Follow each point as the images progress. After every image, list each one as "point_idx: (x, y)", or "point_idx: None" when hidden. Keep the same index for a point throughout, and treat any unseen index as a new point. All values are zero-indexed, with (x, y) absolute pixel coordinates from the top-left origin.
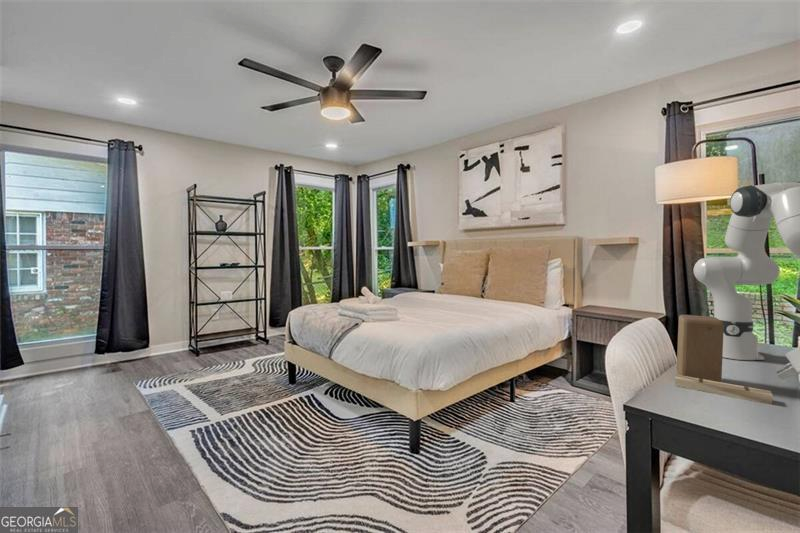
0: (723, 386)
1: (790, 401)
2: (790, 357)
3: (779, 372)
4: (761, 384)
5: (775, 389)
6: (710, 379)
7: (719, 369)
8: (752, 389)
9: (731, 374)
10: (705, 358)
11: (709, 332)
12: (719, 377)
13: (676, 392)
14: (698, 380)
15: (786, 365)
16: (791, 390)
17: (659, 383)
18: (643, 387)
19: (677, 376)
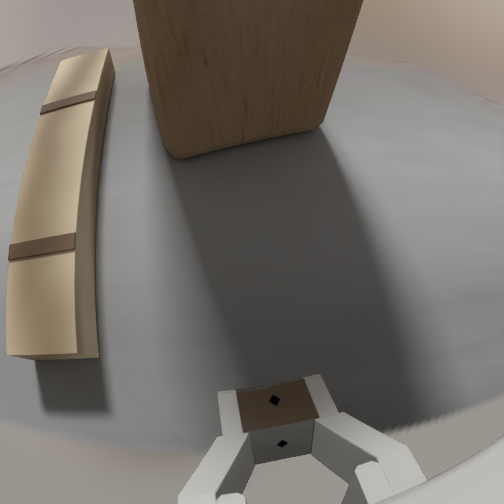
0: (25, 171)
1: (157, 440)
2: (493, 475)
3: (254, 405)
4: (394, 303)
5: (355, 368)
6: (156, 116)
7: (154, 93)
8: (44, 271)
9: (438, 188)
10: (136, 14)
11: None
12: (162, 129)
13: (10, 107)
14: (65, 98)
15: (372, 454)
16: (401, 422)
17: None
18: (22, 62)
19: (82, 57)
